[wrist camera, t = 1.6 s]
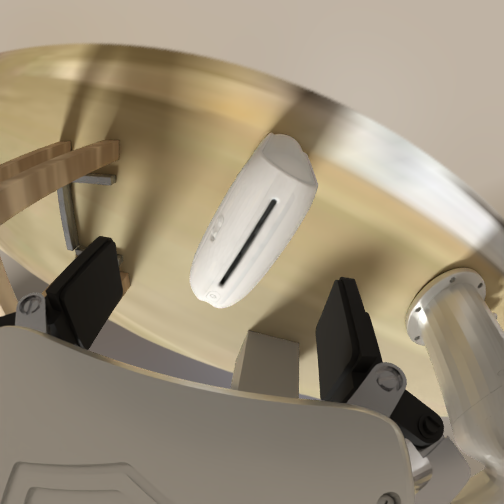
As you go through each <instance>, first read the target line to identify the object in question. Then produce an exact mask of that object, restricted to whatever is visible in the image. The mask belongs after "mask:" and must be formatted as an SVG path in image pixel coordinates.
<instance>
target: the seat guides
mask: <svg viewBox="0 0 504 504" xmlns="http://www.w3.org/2000/svg"><path fill="white" fill-rule="evenodd" d="M73 182H78V183H91V184H102V185H112V184H114V183H116V175H108V174H93V173H89V174H87V175H85V176H83V177H81V178H79V179H77V180H75V181H73ZM57 193H58V201H59V207H60V214H61V220H62V225H63V231H64V236H65V241H66V245H67V250H71V251H73V250H74V249H75V248H76V249H75V251H76V255H78V256H79V255H80V254H81V253H82V252H83V251H84V250H85V249H86V248H87V247H83V246H79V241H78V235H77V230H76V224H75V217H74V211H73V203H72V195H71V186H70V183H69V184H67V185H65V186H63V187H61V188H60V189H58V190H57ZM78 246H79V247H78ZM117 258H118V264H119V265H120V264H121V263H122V262H123V256H122V255H118V254H117Z"/></svg>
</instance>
